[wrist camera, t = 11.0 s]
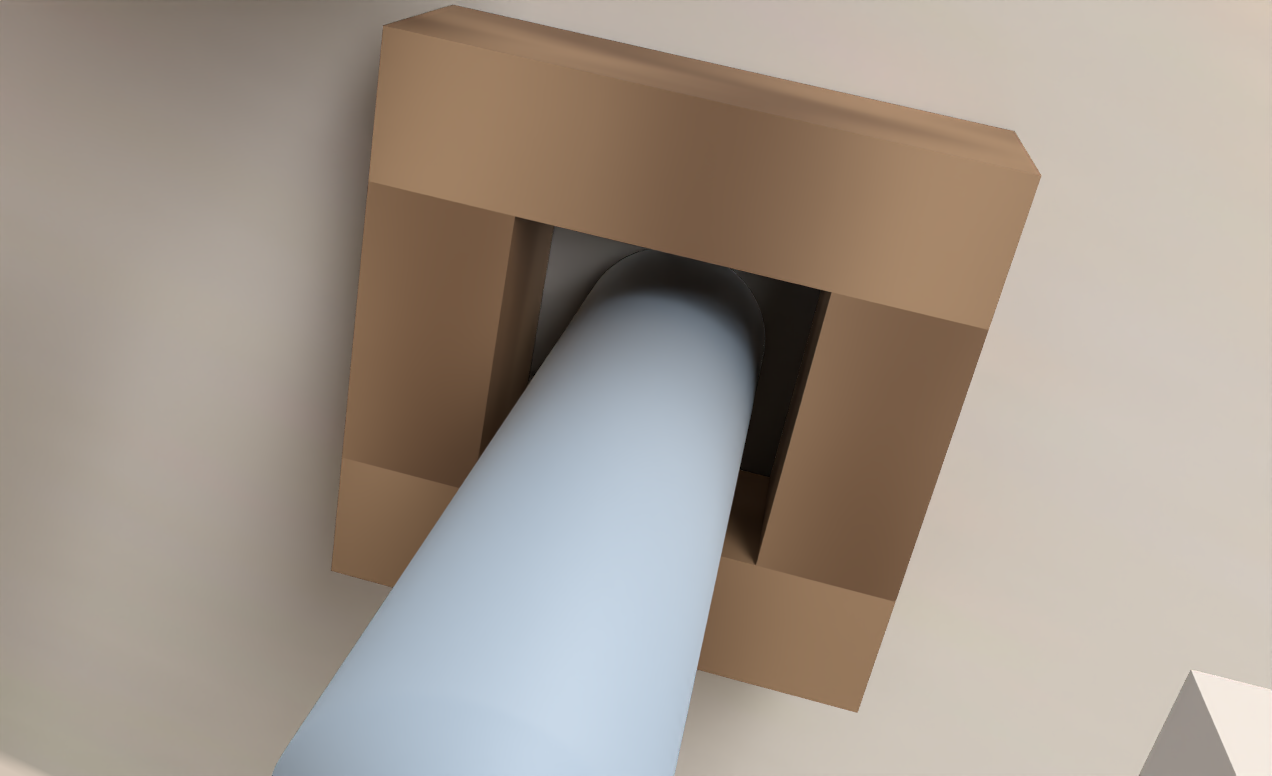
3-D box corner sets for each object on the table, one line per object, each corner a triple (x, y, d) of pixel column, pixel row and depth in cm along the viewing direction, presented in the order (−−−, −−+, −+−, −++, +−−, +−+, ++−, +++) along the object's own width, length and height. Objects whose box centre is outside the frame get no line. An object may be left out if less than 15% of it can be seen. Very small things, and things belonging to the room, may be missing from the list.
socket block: (395, 487, 23) (331, 570, 20) (452, 4, 19) (382, 24, 16) (858, 608, 22) (857, 712, 19) (1014, 131, 18) (1041, 176, 15)
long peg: (566, 395, 21) (252, 937, 10) (600, 226, 20) (279, 646, 9) (740, 441, 21) (605, 1046, 10) (786, 273, 20) (688, 764, 9)
